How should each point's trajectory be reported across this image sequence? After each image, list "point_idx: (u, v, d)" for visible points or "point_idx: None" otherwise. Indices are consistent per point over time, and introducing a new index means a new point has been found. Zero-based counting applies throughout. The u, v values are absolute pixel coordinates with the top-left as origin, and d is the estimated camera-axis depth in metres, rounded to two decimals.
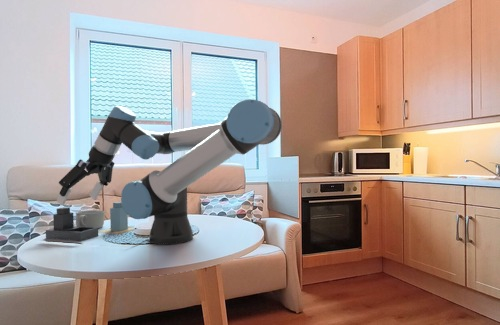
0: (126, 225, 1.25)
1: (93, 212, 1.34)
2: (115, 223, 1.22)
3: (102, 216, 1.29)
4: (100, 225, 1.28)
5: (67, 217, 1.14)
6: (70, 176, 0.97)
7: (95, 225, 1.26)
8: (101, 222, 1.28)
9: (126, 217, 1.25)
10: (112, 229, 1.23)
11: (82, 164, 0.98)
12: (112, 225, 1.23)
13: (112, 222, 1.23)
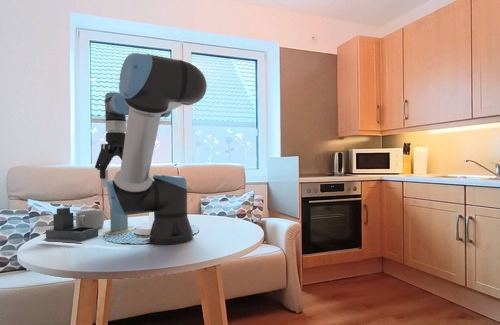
0: (126, 225, 1.25)
1: (93, 212, 1.34)
2: (115, 223, 1.22)
3: (102, 216, 1.29)
4: (100, 225, 1.28)
5: (67, 217, 1.14)
6: (101, 158, 1.15)
7: (95, 225, 1.26)
8: (101, 222, 1.28)
9: (126, 217, 1.25)
10: (112, 229, 1.23)
11: (105, 145, 1.17)
12: (112, 225, 1.23)
13: (112, 222, 1.23)
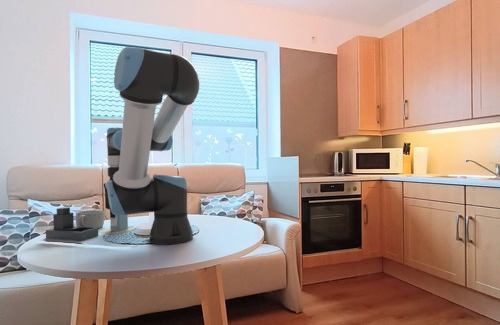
0: (126, 225, 1.25)
1: (93, 212, 1.34)
2: None
3: (102, 216, 1.29)
4: (100, 225, 1.28)
5: (67, 217, 1.14)
6: (108, 198, 1.18)
7: (95, 225, 1.26)
8: (101, 222, 1.28)
9: (126, 217, 1.25)
10: (112, 229, 1.23)
11: (107, 185, 1.18)
12: None
13: None
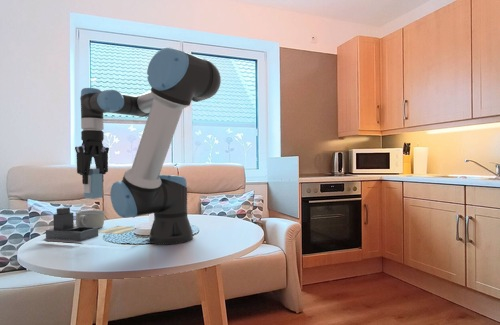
0: (101, 193, 1.18)
1: (93, 212, 1.34)
2: None
3: (102, 216, 1.29)
4: (100, 225, 1.28)
5: (67, 217, 1.14)
6: (79, 163, 1.11)
7: (95, 225, 1.26)
8: (101, 222, 1.28)
9: (101, 185, 1.18)
10: (85, 196, 1.15)
11: (79, 149, 1.10)
12: None
13: None
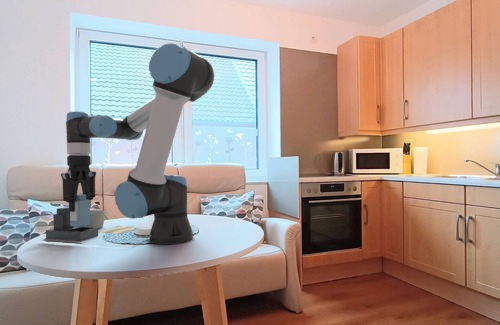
0: (88, 220, 1.13)
1: (93, 212, 1.34)
2: None
3: (102, 216, 1.29)
4: (100, 225, 1.28)
5: (67, 217, 1.14)
6: (66, 190, 1.07)
7: (95, 225, 1.26)
8: (101, 222, 1.28)
9: (88, 211, 1.13)
10: (72, 224, 1.11)
11: (65, 175, 1.06)
12: None
13: None
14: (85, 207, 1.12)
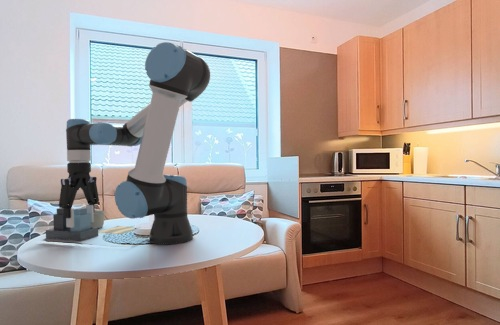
0: None
1: None
2: (75, 231, 1.10)
3: (102, 216, 1.29)
4: (100, 225, 1.28)
5: None
6: (63, 196, 1.05)
7: (95, 225, 1.26)
8: (101, 222, 1.28)
9: (89, 225, 1.13)
10: None
11: (64, 181, 1.06)
12: None
13: None
14: (85, 221, 1.12)
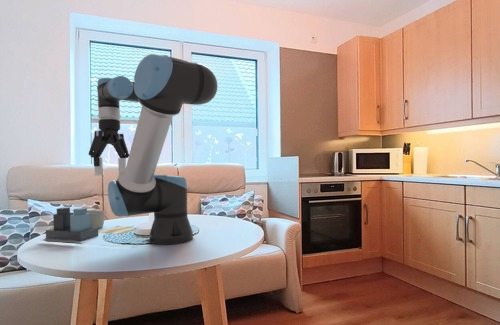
0: None
1: (93, 212, 1.34)
2: (75, 231, 1.10)
3: (102, 216, 1.29)
4: (100, 225, 1.28)
5: (67, 217, 1.14)
6: (95, 144, 1.10)
7: (95, 225, 1.26)
8: (101, 222, 1.28)
9: (89, 225, 1.13)
10: None
11: (99, 132, 1.12)
12: None
13: None
14: (85, 221, 1.12)
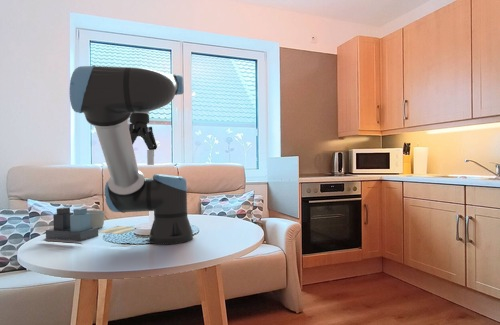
0: None
1: (93, 212, 1.34)
2: (75, 231, 1.10)
3: (102, 216, 1.29)
4: (100, 225, 1.28)
5: (67, 217, 1.14)
6: None
7: (95, 225, 1.26)
8: (101, 222, 1.28)
9: (89, 225, 1.13)
10: None
11: (130, 125, 1.20)
12: None
13: None
14: (85, 221, 1.12)
